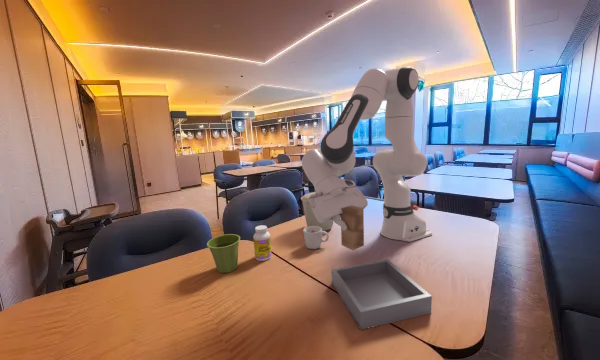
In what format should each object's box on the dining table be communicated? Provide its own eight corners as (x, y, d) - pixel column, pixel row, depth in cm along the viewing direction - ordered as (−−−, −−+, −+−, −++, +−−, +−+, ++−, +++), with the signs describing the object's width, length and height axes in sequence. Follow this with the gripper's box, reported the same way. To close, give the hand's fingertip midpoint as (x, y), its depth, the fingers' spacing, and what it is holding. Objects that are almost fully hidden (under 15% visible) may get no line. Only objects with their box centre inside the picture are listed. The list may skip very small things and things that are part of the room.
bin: (387, 272, 83) (387, 259, 82) (431, 313, 63) (431, 295, 63) (331, 283, 78) (331, 269, 78) (360, 330, 59) (360, 312, 58)
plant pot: (223, 258, 99) (220, 232, 97) (249, 262, 95) (246, 235, 93) (203, 274, 88) (199, 245, 86) (231, 279, 84) (227, 249, 82)
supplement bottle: (258, 263, 94) (255, 232, 91) (253, 256, 100) (250, 226, 97) (274, 258, 97) (271, 228, 94) (268, 252, 103) (266, 223, 100)
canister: (339, 234, 117) (338, 191, 113) (302, 235, 117) (300, 193, 114) (335, 221, 134) (334, 183, 131) (302, 222, 135) (300, 185, 131)
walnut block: (352, 240, 79) (351, 205, 77) (363, 245, 75) (363, 208, 73) (341, 245, 76) (340, 208, 74) (353, 250, 72) (352, 211, 70)
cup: (328, 242, 108) (328, 225, 107) (329, 250, 101) (328, 232, 99) (304, 242, 109) (303, 225, 108) (303, 251, 102) (302, 233, 100)
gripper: (310, 190, 72) (333, 230, 66) (356, 180, 84) (380, 213, 77) (302, 202, 77) (323, 240, 70) (347, 190, 88) (369, 223, 82)
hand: (353, 226), depth 74 cm, fingers closed on walnut block, 5 cm apart
